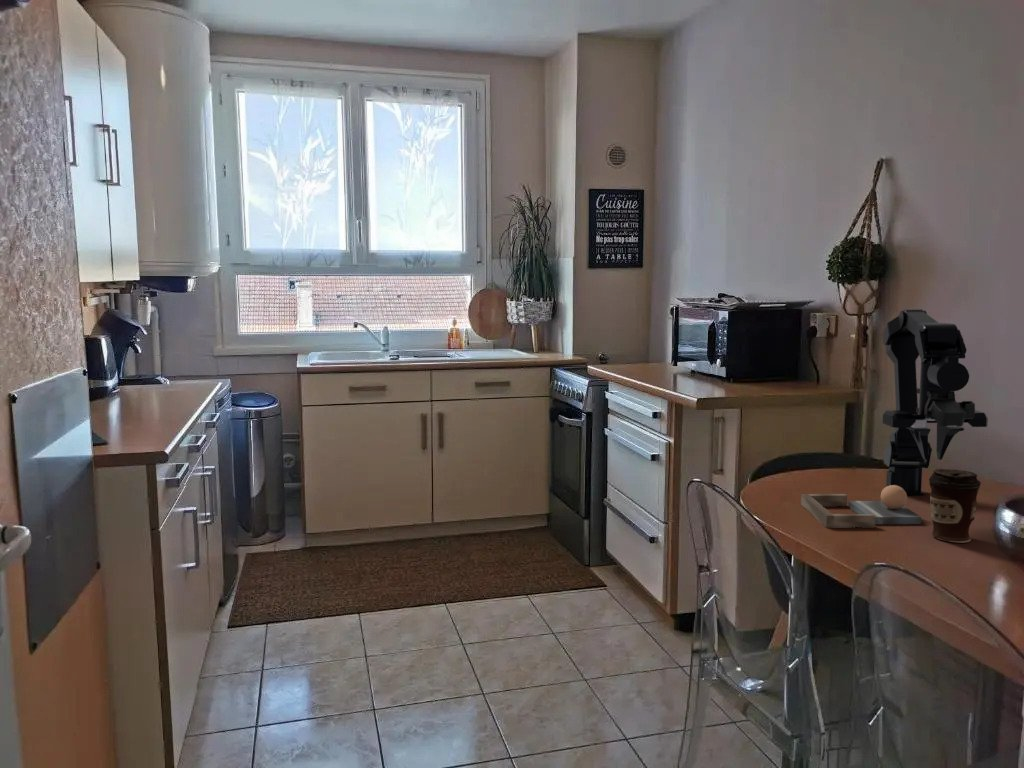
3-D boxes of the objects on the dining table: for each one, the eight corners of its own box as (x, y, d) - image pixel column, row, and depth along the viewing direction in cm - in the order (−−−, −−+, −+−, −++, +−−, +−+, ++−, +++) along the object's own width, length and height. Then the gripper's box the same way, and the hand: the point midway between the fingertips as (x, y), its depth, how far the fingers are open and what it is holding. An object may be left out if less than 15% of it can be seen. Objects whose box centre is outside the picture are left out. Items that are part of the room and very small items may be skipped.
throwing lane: (891, 504, 171) (891, 493, 170) (926, 527, 154) (926, 515, 154) (801, 505, 172) (801, 494, 172) (826, 527, 156) (826, 515, 155)
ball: (900, 505, 165) (901, 482, 164) (910, 512, 160) (911, 488, 159) (876, 505, 165) (877, 482, 165) (886, 512, 160) (887, 488, 160)
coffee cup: (957, 548, 142) (961, 479, 140) (916, 536, 149) (918, 470, 148) (986, 540, 146) (990, 473, 144) (944, 529, 153) (947, 464, 152)
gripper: (906, 390, 151) (903, 468, 153) (1005, 389, 150) (1000, 468, 152) (882, 383, 162) (880, 456, 164) (974, 382, 161) (971, 456, 163)
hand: (932, 459), depth 161 cm, fingers open, 3 cm apart
